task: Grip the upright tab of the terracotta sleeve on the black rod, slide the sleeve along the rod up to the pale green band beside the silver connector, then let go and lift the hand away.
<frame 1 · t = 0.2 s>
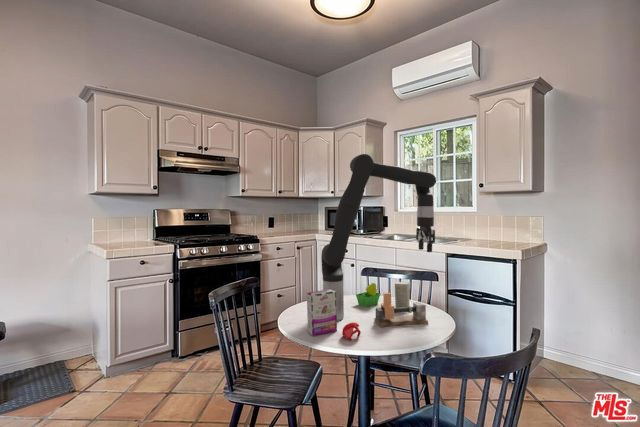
hand: (425, 250, 165), 29 cm above the table, tool pointing down, fingers open, 8 cm apart
skincare box: (402, 308, 173), on the table
red toy helmet: (351, 338, 136), on the table
sleeve: (387, 305, 151), point 8 cm above the table, slide at 0.0 cm
candy bar box: (322, 332, 142), on the table
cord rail: (400, 322, 152), on the table
fruit basket: (369, 304, 180), on the table
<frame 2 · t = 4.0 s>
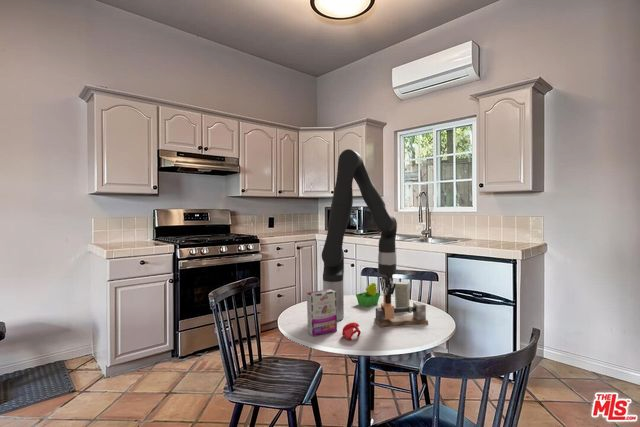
hand: (387, 302, 150), 9 cm above the table, tool pointing down, fingers closed
sleeve: (387, 305, 151), point 8 cm above the table, slide at 0.0 cm, touching gripper
everything else where it was.
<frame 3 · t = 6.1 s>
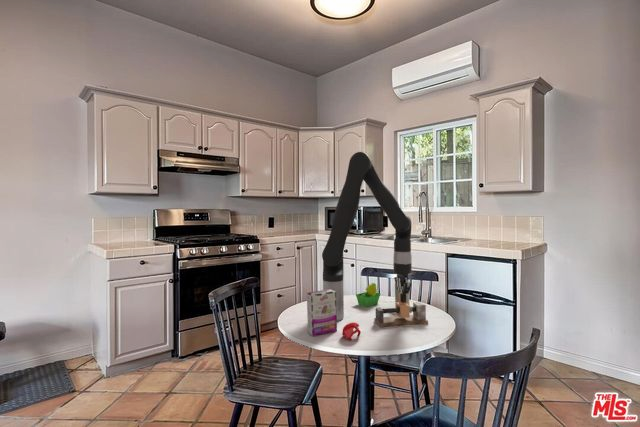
hand: (402, 301, 152), 9 cm above the table, tool pointing down, fingers closed
sleeve: (402, 304, 152), point 8 cm above the table, slide at 6.9 cm, touching gripper
everything else where it was.
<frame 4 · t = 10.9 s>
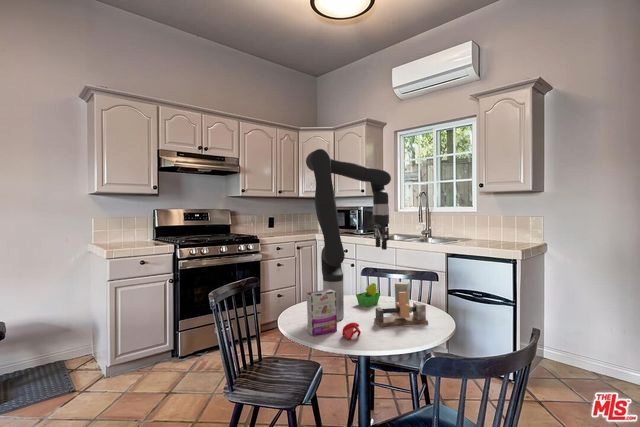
hand: (381, 248, 166), 30 cm above the table, tool pointing down, fingers open, 8 cm apart
sleeve: (402, 304, 152), point 8 cm above the table, slide at 6.9 cm
everything else where it was.
at the end: sleeve slide at 6.9 cm; the gripper is holding nothing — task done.
